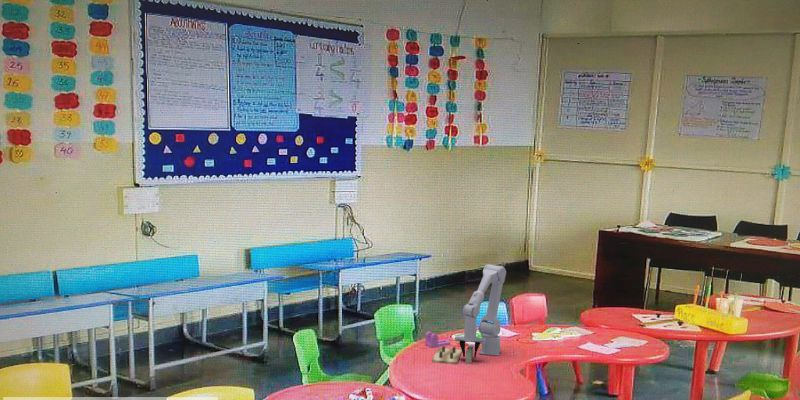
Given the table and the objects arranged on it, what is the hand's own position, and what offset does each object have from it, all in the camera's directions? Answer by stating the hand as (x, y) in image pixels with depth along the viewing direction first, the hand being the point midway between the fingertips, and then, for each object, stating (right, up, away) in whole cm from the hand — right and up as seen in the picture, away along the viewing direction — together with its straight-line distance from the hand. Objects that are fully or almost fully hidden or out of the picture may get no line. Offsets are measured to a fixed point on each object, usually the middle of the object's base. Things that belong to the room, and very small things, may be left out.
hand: (469, 356), depth 354 cm
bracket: (-14, +1, +24) cm, 28 cm away
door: (0, -2, 0) cm, 2 cm away
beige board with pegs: (-10, -1, +4) cm, 11 cm away
